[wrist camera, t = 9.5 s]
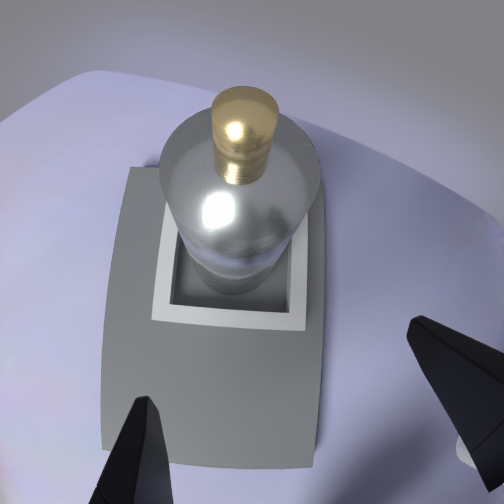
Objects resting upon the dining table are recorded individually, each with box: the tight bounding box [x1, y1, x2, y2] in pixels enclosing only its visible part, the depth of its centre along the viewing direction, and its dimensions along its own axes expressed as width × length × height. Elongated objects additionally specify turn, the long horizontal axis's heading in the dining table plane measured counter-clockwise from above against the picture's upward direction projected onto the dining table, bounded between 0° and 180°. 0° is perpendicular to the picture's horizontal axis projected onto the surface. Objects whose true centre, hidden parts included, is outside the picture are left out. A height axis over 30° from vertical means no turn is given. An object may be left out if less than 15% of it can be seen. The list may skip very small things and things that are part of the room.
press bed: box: [101, 167, 325, 469], centre depth 19 cm, size 20×14×3 cm
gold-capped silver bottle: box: [159, 86, 321, 296], centre depth 13 cm, size 5×5×14 cm
